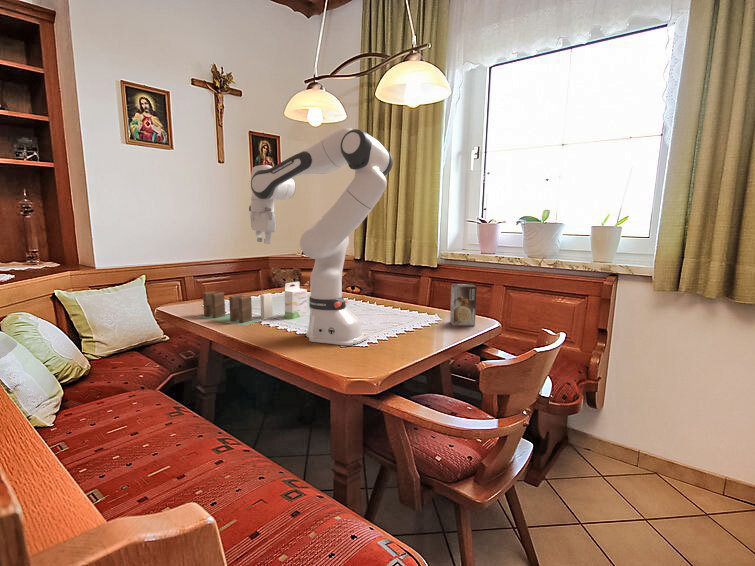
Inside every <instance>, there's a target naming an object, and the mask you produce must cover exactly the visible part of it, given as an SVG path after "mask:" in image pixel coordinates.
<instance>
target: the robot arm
mask: <svg viewBox="0 0 755 566" xmlns="http://www.w3.org/2000/svg"><path fill="white" fill-rule="evenodd" d="M346 164H347V165H348V167H349V169H351V170H354V172H355V174H354V178H353V179H352V180H351V182H350V183H349V184H348V186H347V187H346V189H345V190H344V191H343V192H342V193H341V194H340V196H339V197H338V198H337V200H336V201H335V203H334V204H333V205H332V206H331V207H330V208H329V210H327V212H326V213H324V214H323V215H322V216H321V217H320V218H319V219H318V220H317V221H316V222H315V223H314V224H313V225H312V226H311V227H309V229H307V230H305V231H304V232H303V234H301V237H300V239H299V248H300V250H301V252H302V253H303V255H305V256H306V257H307V258H310V259H313V260H315V261H314V266H313V268H312V271H311V273H310V277H309V278H310V279H309V281H310V285H309V286H310V287H309V288H310V296H309V297H308V298H309V299H308V301H309V302H308V304H309V306H308V307H309V309H310V313H309V320H308V321H309V322H308V327H307V331H306V333H305V334H306V338H308V341H309V342H313V343H322V344H330V345H339V346H353V344H355V345H357V343H358V344H360V342H361V343H362V341H363V342H365V341H366V340H367V339H368V338H369V333H368V332H365V331H363V326H362V322H361V320H360V318H358V317H357V316H356V315H355V314H354V313H353V312H352V311H350V309H349V308H347V305H346V304H347V303H349V299H344V297H343V295H342V294H343V293H342V292H343V291H342V290H343V289H342V288H343V287H342V285H343V284H342V282H343V270H344V264H345V258H346V254H347V253H346V252H347V249H348V247H349V244H350V238H349V236H350V235H351V234H352V233H353V232H354V231H355V230H357V229H358V228H359V227H360V226H361V224H362V223H363V221H365V219H366V218H367V217H368V215H369V214H370V213H371V212H372V210H373V209H374V208H375V206H376V205H377V204H378V202H379V201H380V199H381V198H382V196H383V194H384V192H385V191H386V189H387V186H388V185H387V184H388V181H387V178H386V176H387V175H388V174H389V173H390V172H391V170H392V169H393V166H394V165H393V164H394V159H393V155H392V154H391V152H390V151H389V150H388V148H386V147H384V145H383V144H382V143H381V142H380V141H379V140H378V139H376V138H375V137H374V136H372V135H370V134H369V133H367V132H366V131H364V130H362V129H358V128H357V129H356V128H355V129H353V128H352V127H345V128H342V129H338V130H337V131H334V132H333V133H331V134H329V135H327V136H325V137H324V138H322V139H321V140H320V141H318V142H317V143H315V144H313V145H312V146H310V147H308V148H307V149H304V150H302V151H300V152H298V153H297V154H294V155H292V156H290V157H288V158H287V159H284V160H283V161H281V162H279V163H277V164H276V165H274V166H272V165H269V164H258V165H255V166H254V167H252V170H251V174H250V190H251V197H250V205H249V206H248V212H250V213H249V215H250V216H249V218H250V227H251V229H252V231H255V235H256V236H255V237H256V242H258V243H262V242H263V240H264V242H263V243H264V244H266V245H269V244H271V237H272V233H275V232H276V230H277V226H276V215H275V200H281V201H282V200H283V201H284V200H288V199H291V198H293V196H294V195H295V192H296V182H295V180H294V178H295V177H297V176H301V175H310V174H311V175H312V174H316V175H325V174H329V173H332V172H334V171H337V170H338V169H339V168H341V167H343V166H345V165H346ZM263 232H264V239H263V237H262V235H263ZM364 340H365V341H364Z"/></svg>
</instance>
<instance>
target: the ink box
mask: <svg viewBox="0 0 755 566" xmlns="http://www.w3.org/2000/svg"><path fill="white" fill-rule="evenodd" d="M300 285H301V283H300V281H293V282H286V283H285V284H284V318H286V319H291V320H294V319H297V318H302V317H306V316H308V289H305V288H300Z"/></svg>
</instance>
